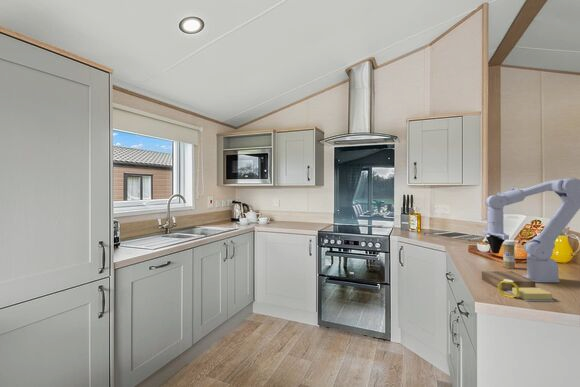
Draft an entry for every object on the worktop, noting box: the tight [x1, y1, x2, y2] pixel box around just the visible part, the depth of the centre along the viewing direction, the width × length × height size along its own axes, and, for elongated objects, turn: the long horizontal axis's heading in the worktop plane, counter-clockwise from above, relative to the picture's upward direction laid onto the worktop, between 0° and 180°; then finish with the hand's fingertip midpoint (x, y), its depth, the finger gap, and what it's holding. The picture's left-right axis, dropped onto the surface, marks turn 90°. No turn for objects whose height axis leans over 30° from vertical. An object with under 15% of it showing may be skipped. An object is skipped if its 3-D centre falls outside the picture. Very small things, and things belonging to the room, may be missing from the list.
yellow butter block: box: [511, 287, 553, 300], centre depth 100 cm, size 9×6×2 cm, turn 84°
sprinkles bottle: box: [502, 239, 516, 270], centre depth 135 cm, size 5×5×14 cm
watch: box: [497, 279, 519, 299], centre depth 101 cm, size 6×3×6 cm, turn 37°
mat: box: [505, 290, 556, 303], centre depth 101 cm, size 9×10×1 cm
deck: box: [481, 270, 537, 291], centre depth 113 cm, size 12×13×4 cm
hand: (495, 253), depth 123 cm, fingers closed
